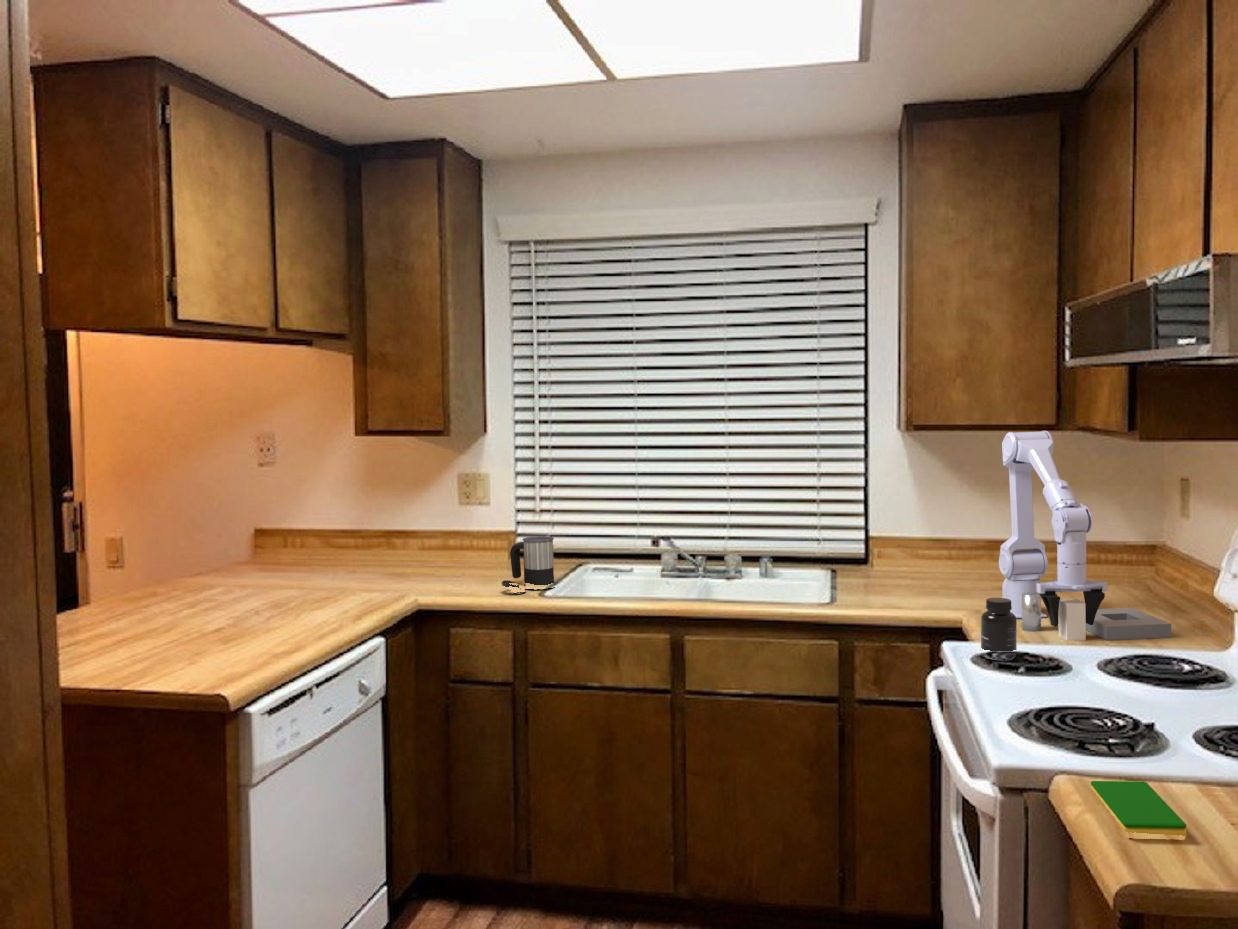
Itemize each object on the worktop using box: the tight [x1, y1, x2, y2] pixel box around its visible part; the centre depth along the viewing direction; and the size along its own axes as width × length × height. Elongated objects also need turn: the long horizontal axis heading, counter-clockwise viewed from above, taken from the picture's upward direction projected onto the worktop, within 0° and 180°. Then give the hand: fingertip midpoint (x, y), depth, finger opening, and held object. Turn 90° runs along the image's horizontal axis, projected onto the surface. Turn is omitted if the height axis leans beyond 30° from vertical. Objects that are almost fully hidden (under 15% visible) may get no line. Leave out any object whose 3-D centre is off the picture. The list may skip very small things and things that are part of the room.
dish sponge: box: [1090, 780, 1187, 836], centre depth 131 cm, size 7×14×2 cm, turn 172°
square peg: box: [1058, 598, 1087, 641], centre depth 220 cm, size 4×4×8 cm
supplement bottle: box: [980, 597, 1018, 651], centre depth 207 cm, size 7×7×12 cm
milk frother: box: [501, 535, 555, 587], centre depth 296 cm, size 14×16×15 cm
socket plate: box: [1086, 607, 1172, 641], centre depth 225 cm, size 16×14×3 cm
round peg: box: [1021, 592, 1042, 632], centre depth 229 cm, size 4×4×8 cm
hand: (1071, 624), depth 220 cm, fingers open, 7 cm apart
